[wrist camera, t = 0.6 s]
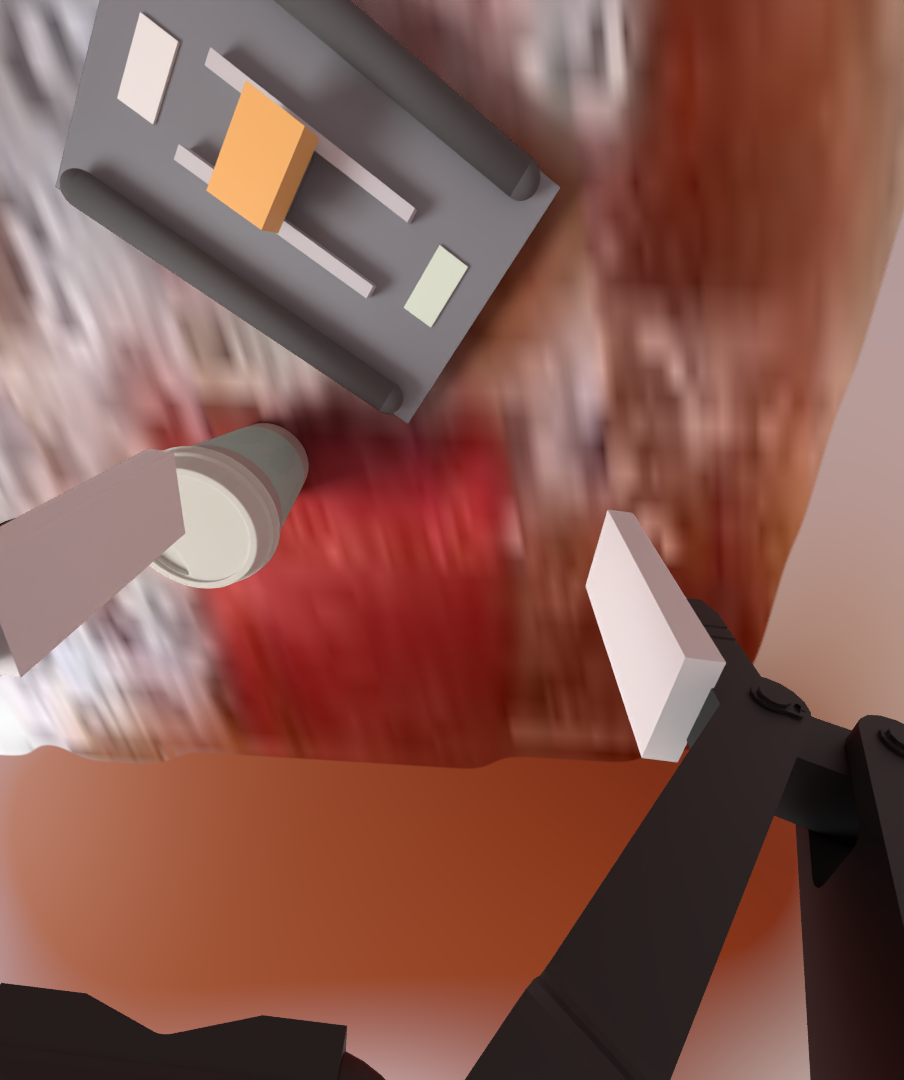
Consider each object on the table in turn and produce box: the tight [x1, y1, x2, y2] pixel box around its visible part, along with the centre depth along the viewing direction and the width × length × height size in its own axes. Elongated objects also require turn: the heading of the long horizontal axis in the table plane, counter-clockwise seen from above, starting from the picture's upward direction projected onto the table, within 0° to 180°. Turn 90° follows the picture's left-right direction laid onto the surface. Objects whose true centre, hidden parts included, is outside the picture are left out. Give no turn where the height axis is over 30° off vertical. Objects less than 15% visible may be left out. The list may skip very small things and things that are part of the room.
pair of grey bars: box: [60, 0, 540, 414], centre depth 28 cm, size 22×16×2 cm
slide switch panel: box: [56, 0, 560, 424], centre depth 29 cm, size 24×16×3 cm, turn 56°
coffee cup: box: [150, 423, 309, 588], centre depth 33 cm, size 8×8×12 cm
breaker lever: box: [206, 80, 319, 233], centre depth 26 cm, size 3×5×4 cm, turn 146°
